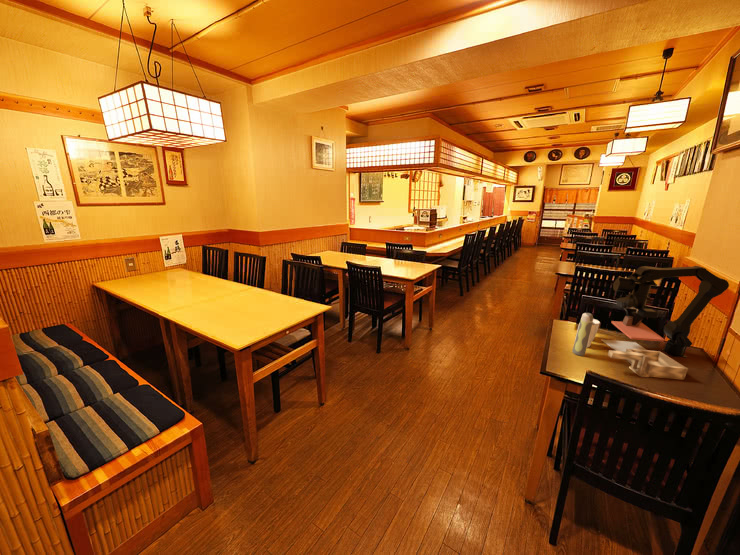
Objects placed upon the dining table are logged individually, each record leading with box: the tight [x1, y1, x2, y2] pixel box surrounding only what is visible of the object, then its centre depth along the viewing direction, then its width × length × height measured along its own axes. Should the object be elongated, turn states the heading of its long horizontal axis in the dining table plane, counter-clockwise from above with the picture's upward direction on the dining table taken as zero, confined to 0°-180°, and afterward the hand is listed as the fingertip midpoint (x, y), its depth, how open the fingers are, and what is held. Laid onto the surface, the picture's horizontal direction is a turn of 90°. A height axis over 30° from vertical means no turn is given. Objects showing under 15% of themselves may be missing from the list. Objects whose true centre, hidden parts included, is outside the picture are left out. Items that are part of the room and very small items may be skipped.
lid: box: [611, 315, 666, 342], centre depth 143 cm, size 14×14×5 cm
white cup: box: [591, 318, 601, 342], centre depth 156 cm, size 8×8×10 cm
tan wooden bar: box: [607, 349, 646, 360], centre depth 126 cm, size 13×2×2 cm, turn 84°
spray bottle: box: [572, 312, 594, 357], centre depth 139 cm, size 5×5×20 cm
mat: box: [601, 339, 647, 352], centre depth 147 cm, size 16×16×1 cm
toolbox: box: [624, 349, 689, 380], centre depth 130 cm, size 17×15×9 cm
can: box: [574, 322, 595, 348], centre depth 149 cm, size 6×6×12 cm
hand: (631, 323), depth 147 cm, fingers closed on lid, 3 cm apart
